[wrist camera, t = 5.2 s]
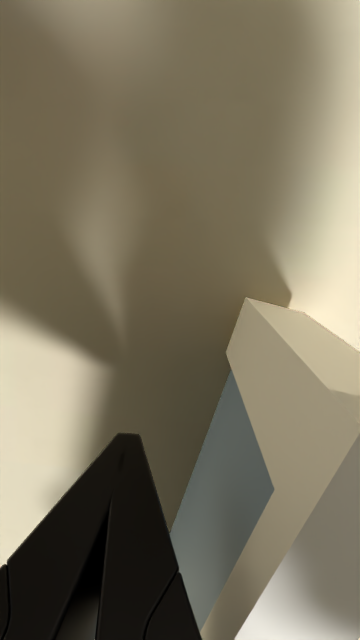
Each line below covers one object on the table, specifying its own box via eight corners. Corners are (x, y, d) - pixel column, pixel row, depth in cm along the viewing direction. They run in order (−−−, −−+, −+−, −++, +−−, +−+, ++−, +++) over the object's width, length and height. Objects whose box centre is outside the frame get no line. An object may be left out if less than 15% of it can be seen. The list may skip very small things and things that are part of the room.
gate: (149, 565, 12) (127, 814, 7) (245, 297, 8) (361, 427, 3) (189, 572, 12) (197, 820, 7) (304, 312, 8) (515, 461, 3)
